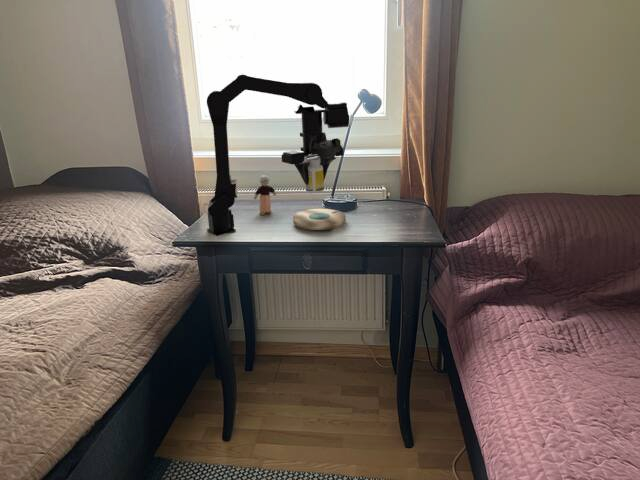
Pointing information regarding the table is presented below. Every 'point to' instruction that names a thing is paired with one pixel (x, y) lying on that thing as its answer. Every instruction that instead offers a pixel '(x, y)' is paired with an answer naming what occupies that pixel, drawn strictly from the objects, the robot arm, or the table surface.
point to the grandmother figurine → (264, 195)
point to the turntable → (319, 219)
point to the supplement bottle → (315, 176)
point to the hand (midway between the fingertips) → (314, 182)
